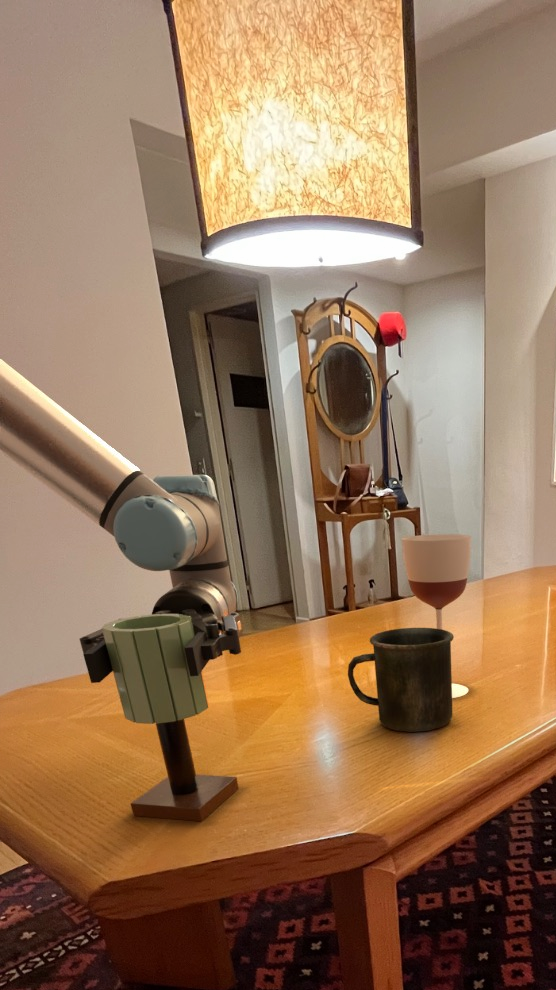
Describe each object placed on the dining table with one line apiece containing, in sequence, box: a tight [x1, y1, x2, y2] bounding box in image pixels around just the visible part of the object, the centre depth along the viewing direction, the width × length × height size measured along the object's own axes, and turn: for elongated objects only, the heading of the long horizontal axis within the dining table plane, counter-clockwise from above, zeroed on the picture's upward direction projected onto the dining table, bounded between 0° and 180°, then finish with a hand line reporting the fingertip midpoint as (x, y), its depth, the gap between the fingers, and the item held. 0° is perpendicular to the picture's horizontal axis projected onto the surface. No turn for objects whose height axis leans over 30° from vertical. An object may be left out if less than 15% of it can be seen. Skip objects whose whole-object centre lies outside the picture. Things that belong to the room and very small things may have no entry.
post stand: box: [130, 719, 239, 822], centre depth 70 cm, size 8×8×18 cm
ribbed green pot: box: [101, 614, 209, 725], centre depth 67 cm, size 8×8×9 cm
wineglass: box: [401, 533, 472, 699], centre depth 103 cm, size 9×10×23 cm
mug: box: [347, 627, 455, 733], centre depth 92 cm, size 11×15×12 cm
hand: (141, 665), depth 62 cm, fingers closed on ribbed green pot, 8 cm apart
